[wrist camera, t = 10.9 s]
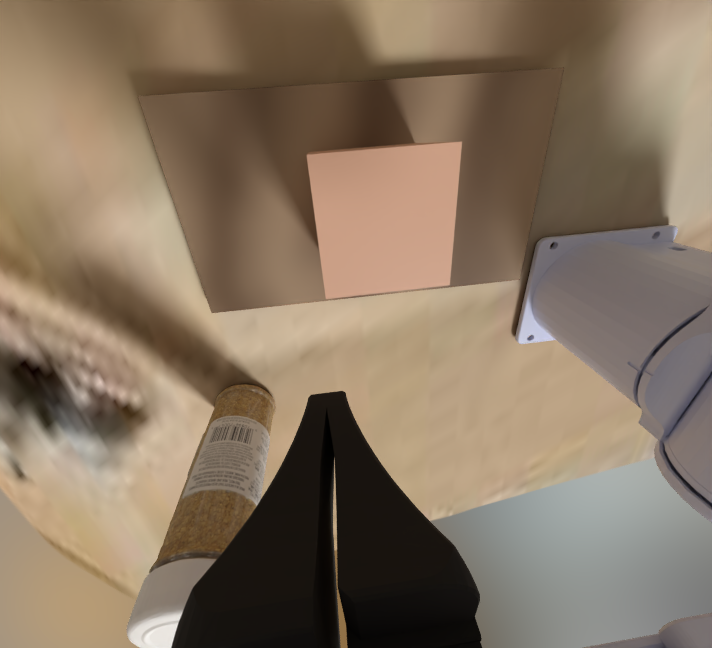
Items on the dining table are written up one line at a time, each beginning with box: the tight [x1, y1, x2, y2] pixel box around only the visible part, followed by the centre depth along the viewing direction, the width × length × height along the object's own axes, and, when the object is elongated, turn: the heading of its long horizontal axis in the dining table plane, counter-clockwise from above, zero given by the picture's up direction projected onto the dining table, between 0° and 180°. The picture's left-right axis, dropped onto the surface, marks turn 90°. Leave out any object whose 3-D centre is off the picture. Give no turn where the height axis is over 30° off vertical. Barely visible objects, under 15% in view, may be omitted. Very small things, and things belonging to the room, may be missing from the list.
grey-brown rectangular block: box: [138, 68, 564, 313], centre depth 15 cm, size 20×11×6 cm, turn 94°
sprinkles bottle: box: [127, 384, 276, 648], centre depth 19 cm, size 5×5×13 cm
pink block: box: [307, 142, 462, 299], centre depth 15 cm, size 5×5×6 cm
